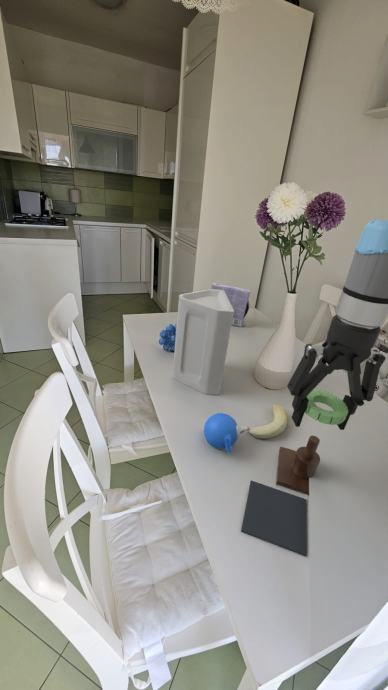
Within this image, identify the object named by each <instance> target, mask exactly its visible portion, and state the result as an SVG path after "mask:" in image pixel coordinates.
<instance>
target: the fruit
mask: <svg viewBox="0 0 388 690" xmlns="http://www.w3.org/2000/svg"><path fill="white" fill-rule="evenodd" d="M272 414H273V421H272V422H270V423H268V424H265V425H262V426H255V427H253V428H250V430H249V431H246V432H247V433H249V434H250V435H251V436H253V437H254V438H256V439H262V440H265V439H271V438H275V437H277V436H279V435H280V434H282V433H283V432H284V431H285V430H286V427H287V425H288V415H287V412H286V410H285V408H284V407H283V406H282V405H281V404H278V403H274V404H273V405H272Z"/></svg>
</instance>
